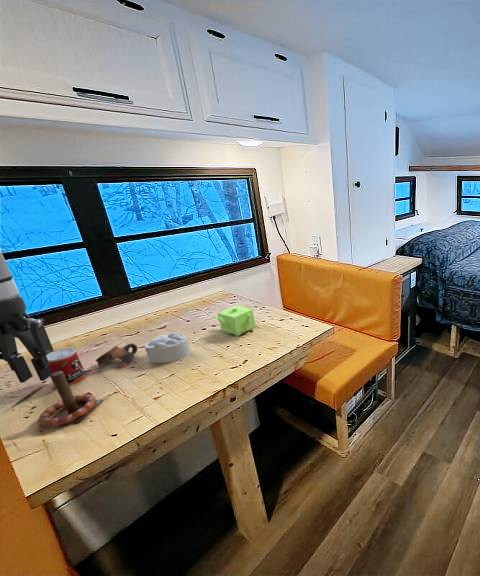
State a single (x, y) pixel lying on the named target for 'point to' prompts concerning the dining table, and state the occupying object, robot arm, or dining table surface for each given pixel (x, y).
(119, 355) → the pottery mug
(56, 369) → the canned food
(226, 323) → the knobby lime green cube
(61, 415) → the post
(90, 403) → the ring
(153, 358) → the lumpy-topped squat cylinder
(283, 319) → the dining table surface
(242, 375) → the dining table surface
